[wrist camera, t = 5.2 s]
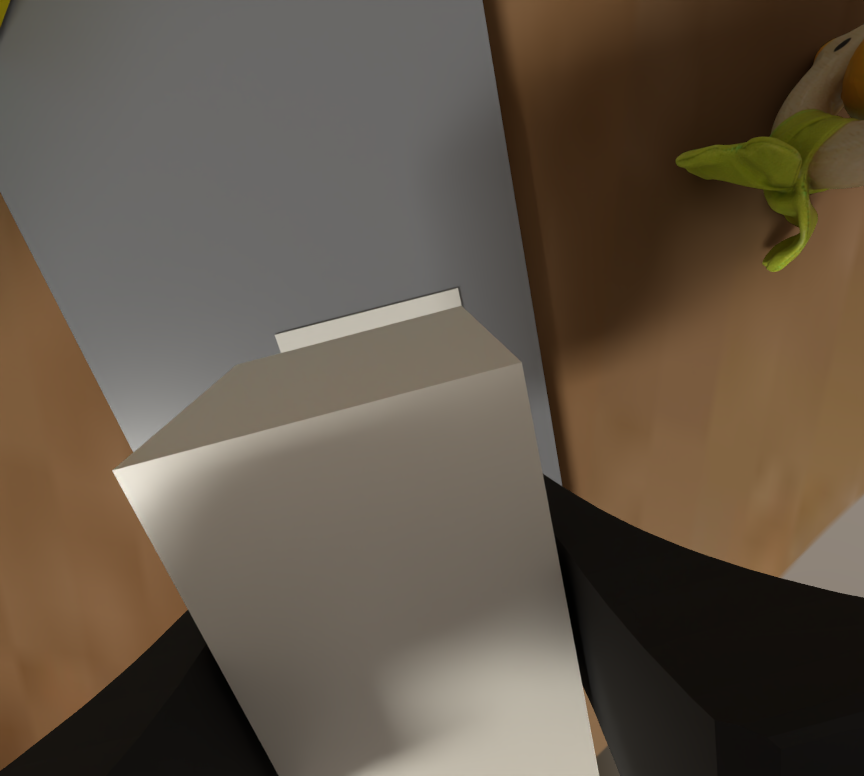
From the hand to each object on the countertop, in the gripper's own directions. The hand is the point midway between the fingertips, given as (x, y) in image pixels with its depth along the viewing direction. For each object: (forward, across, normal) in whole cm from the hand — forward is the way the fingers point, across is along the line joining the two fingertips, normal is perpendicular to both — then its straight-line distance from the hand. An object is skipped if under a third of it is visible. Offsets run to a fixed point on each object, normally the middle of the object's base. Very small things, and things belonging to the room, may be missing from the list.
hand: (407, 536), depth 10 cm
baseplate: (+9, +2, -1) cm, 9 cm away
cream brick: (+1, 0, 0) cm, 1 cm away
